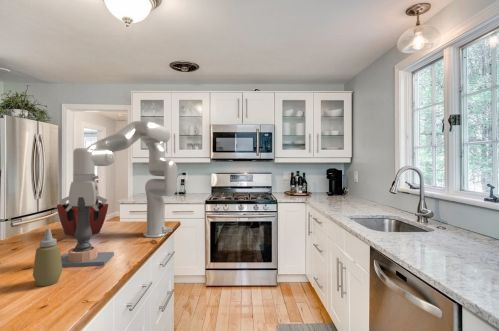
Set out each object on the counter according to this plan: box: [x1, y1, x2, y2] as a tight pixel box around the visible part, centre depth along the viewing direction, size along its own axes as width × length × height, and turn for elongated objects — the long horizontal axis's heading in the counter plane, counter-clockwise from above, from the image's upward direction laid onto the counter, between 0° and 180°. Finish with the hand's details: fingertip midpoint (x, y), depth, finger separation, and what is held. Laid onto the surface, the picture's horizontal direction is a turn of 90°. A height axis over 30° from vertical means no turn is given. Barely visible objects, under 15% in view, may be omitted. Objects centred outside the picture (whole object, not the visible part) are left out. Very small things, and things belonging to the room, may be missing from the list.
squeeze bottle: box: [32, 228, 63, 287], centre depth 92 cm, size 8×8×18 cm
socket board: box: [61, 244, 115, 268], centre depth 113 cm, size 20×12×5 cm, turn 100°
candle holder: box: [74, 197, 93, 252], centre depth 113 cm, size 6×6×25 cm
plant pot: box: [56, 201, 109, 238], centre depth 154 cm, size 19×19×17 cm
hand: (83, 220), depth 112 cm, fingers open, 9 cm apart
